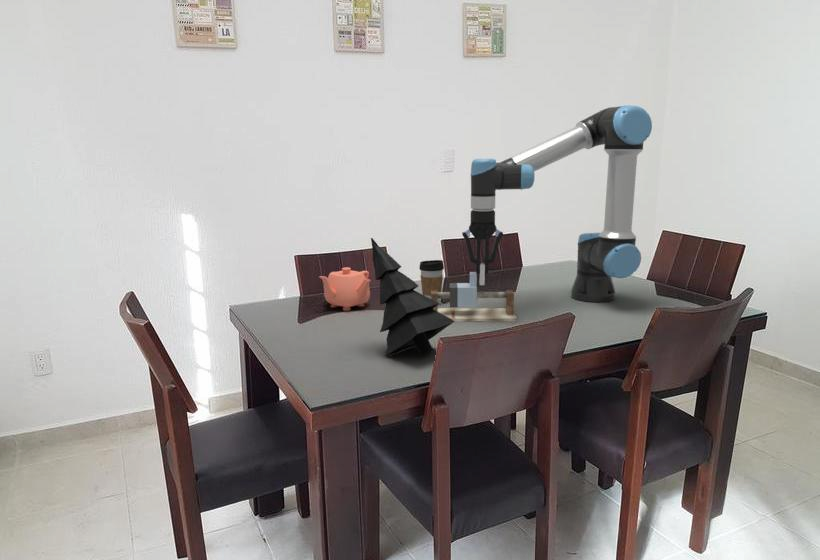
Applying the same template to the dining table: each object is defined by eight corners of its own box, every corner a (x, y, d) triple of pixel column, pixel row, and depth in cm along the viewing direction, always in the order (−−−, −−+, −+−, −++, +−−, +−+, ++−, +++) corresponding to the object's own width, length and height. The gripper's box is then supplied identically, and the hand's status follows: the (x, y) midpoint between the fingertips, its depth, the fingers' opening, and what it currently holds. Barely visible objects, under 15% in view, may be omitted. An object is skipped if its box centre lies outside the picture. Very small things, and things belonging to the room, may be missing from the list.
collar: (457, 302, 203) (456, 283, 201) (457, 307, 196) (457, 287, 195) (449, 302, 203) (449, 283, 201) (449, 307, 197) (449, 287, 195)
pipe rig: (512, 311, 205) (512, 287, 204) (516, 321, 194) (517, 296, 192) (430, 311, 207) (429, 287, 205) (429, 321, 195) (429, 296, 193)
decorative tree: (428, 356, 173) (376, 247, 181) (462, 335, 163) (405, 221, 171) (391, 371, 163) (336, 254, 171) (424, 349, 153) (365, 227, 160)
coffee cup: (442, 307, 212) (441, 263, 208) (417, 306, 213) (417, 263, 210) (445, 301, 220) (445, 259, 216) (422, 300, 221) (421, 258, 218)
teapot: (371, 311, 208) (370, 271, 205) (320, 313, 206) (318, 274, 203) (370, 299, 223) (368, 262, 220) (322, 301, 222) (320, 264, 219)
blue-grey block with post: (475, 302, 202) (475, 270, 200) (476, 307, 196) (476, 275, 194) (457, 302, 203) (457, 270, 200) (457, 307, 196) (457, 275, 194)
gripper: (502, 208, 196) (501, 281, 201) (461, 208, 196) (460, 281, 202) (505, 210, 189) (503, 286, 194) (462, 211, 189) (461, 287, 194)
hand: (481, 284), depth 198 cm, fingers closed
